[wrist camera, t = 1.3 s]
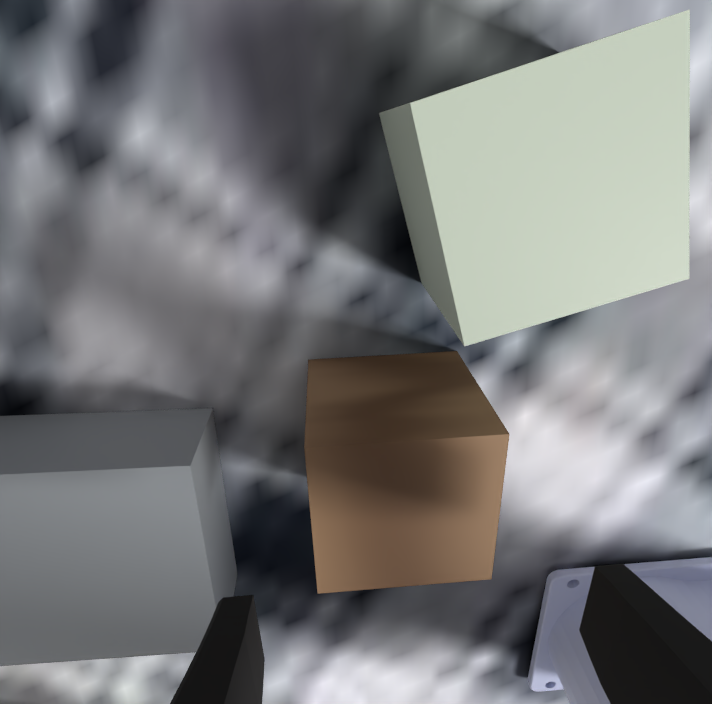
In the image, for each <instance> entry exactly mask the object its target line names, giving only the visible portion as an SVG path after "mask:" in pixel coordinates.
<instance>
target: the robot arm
mask: <svg viewBox="0 0 712 704" xmlns="http://www.w3.org/2000/svg"><path fill="white" fill-rule="evenodd" d="M263 677H264V653H263V648H262V642H261V636H260V631H259V625H258V619H257V613H256V608H255V602H254V596H253V595H247V596H235V597H223V598H222V599H221V600H220V601H219V602H218V604H217V607H216V609H215V612H214V614H213V617H212V619H211V621H210V623H209V626H208V628H207V630H206V632H205V635H204V637H203V639H202V641H201V643H200V646H199V648H198V650H197V652H196V654H195V656H194V658H193V660H192V662H191V664H190V666H189V668H188V670H187V672H186V674H185V676H184V678H183V680H182V682H181V684H180V686H179V688H178V690H177V692H176V694H175V695H174V697H173V699H172V701H171V703H170V704H262V694H263ZM528 683H529V686H530V688H531V689H532V690H533V691H550V690H560V689H564V691H565V693H566V695H567V698H568V700H569V702H570V704H712V557H705V558H693V559H681V560H669V561H656V562H644V563H632V564H613V565H601V566H595V567H583V568H571V569H559V570H555V571H553V572H551V573H550V574H549V575H548V577H547V580H546V586H545V591H544V596H543V601H542V607H541V612H540V617H539V622H538V627H537V633H536V638H535V643H534V648H533V654H532V659H531V664H530V669H529V675H528Z"/></svg>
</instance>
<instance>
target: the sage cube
mask: <svg viewBox="0 0 712 704" xmlns="http://www.w3.org/2000/svg"><path fill="white" fill-rule="evenodd" d="M689 74H690V10H687V11H684V12H681V13H678V14H675V15H672V16H669V17H666V18H663V19H660V20H657V21H654V22H651V23H648V24H645V25H642V26H639V27H636V28H633V29H630V30H627V31H624V32H621V33H618V34H615V35H611V36H608V37H605V38H602V39H599V40H596V41H593V42H590V43H587V44H584V45H581V46H578V47H575V48H572V49H569V50H566V51H563V52H560V53H557V54H554V55H551V56H548V57H545V58H542V59H539V60H536V61H533V62H530V63H527V64H524V65H521V66H518V67H515V68H512V69H509V70H506V71H503V72H500V73H497V74H494V75H491V76H488V77H485V78H482V79H479V80H476V81H473V82H470V83H467V84H464V85H461V86H458V87H455V88H452V89H449V90H446V91H443V92H441V93H438V94H435V95H432V96H429V97H426V98H423V99H420V100H417V101H414V102H411V103H408V104H405V105H402V106H399V107H396V108H393V109H390V110H387V111H384V112H381V113H379V116H380V120H381V124H382V128H383V132H384V136H385V140H386V144H387V148H388V152H389V156H390V160H391V164H392V168H393V172H394V176H395V180H396V184H397V188H398V191H399V195H400V199H401V203H402V207H403V211H404V215H405V219H406V223H407V227H408V231H409V235H410V239H411V243H412V247H413V251H414V255H415V259H416V263H417V267H418V271H419V275H420V279H421V283H422V285H423V286H424V287H425V289H426V290H427V292H428V293H429V295H430V296H431V298H432V299H433V301H434V302H435V304H436V305H437V307H438V308H439V310H440V311H441V312H442V314H443V315H444V317H445V318H446V320H447V321H448V323H449V324H450V326H451V327H452V329H453V330H454V332H455V333H456V335H457V336H458V338H459V339H460V340H461V342H462V343H463V345H464V346H467V345H471V344H474V343H477V342H480V341H484V340H487V339H490V338H494V337H497V336H500V335H504V334H507V333H510V332H514V331H517V330H520V329H524V328H527V327H530V326H534V325H537V324H540V323H544V322H547V321H550V320H554V319H557V318H560V317H564V316H567V315H570V314H574V313H577V312H580V311H584V310H587V309H590V308H593V307H597V306H600V305H603V304H607V303H610V302H613V301H617V300H620V299H623V298H627V297H630V296H633V295H637V294H640V293H643V292H647V291H650V290H653V289H657V288H660V287H663V286H667V285H670V284H673V283H677V282H680V281H683V280H687V279H689Z"/></svg>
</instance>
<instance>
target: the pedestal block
mask: <svg viewBox="0 0 712 704" xmlns="http://www.w3.org/2000/svg"><path fill="white" fill-rule="evenodd" d="M236 580H237V568H236V562H235V555H234V548H233V541H232V535H231V528H230V521H229V514H228V508H227V501H226V494H225V487H224V481H223V474H222V467H221V460H220V454H219V447H218V440H217V433H216V427H215V420H214V413H213V408H198V409H171V410H145V411H119V412H93V413H66V414H40V415H14V416H0V666H8V665H22V664H36V663H50V662H64V661H78V660H92V659H106V658H120V657H134V656H148V655H162V654H176V653H191V652H197V650H198V648H199V646H200V643H201V641H202V639H203V637H204V635H205V632H206V630H207V628H208V626H209V623H210V621H211V619H212V617H213V614H214V612H215V609H216V607H217V604H218V602H219V601H220V600H221V599H222V598H223V597H233V596H234V591H235V585H236Z"/></svg>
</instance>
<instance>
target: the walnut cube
mask: <svg viewBox="0 0 712 704" xmlns="http://www.w3.org/2000/svg"><path fill="white" fill-rule="evenodd" d="M508 441H509V433H508V431H507V430H506V428H505V426H504V425H503V423H502V422H501V420H500V419H499V417H498V415H497V414H496V412H495V411H494V409H493V407H492V406H491V404H490V403H489V401H488V400H487V398H486V396H485V395H484V393H483V392H482V390H481V389H480V387H479V385H478V384H477V382H476V381H475V379H474V377H473V376H472V374H471V373H470V371H469V370H468V368H467V366H466V365H465V363H464V362H463V360H462V358H461V357H460V355H459V354H458V352H457V351H450V352H432V353H415V354H397V355H380V356H362V357H345V358H328V359H310V360H308V379H307V401H306V422H305V444H304V450H305V461H306V472H307V483H308V493H309V504H310V515H311V526H312V537H313V548H314V559H315V570H316V581H317V592H318V594H320V593H332V592H344V591H356V590H368V589H380V588H392V587H404V586H416V585H428V584H440V583H453V582H465V581H477V580H489V579H492V571H493V563H494V554H495V546H496V538H497V530H498V522H499V514H500V506H501V498H502V490H503V481H504V473H505V465H506V457H507V449H508Z"/></svg>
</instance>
